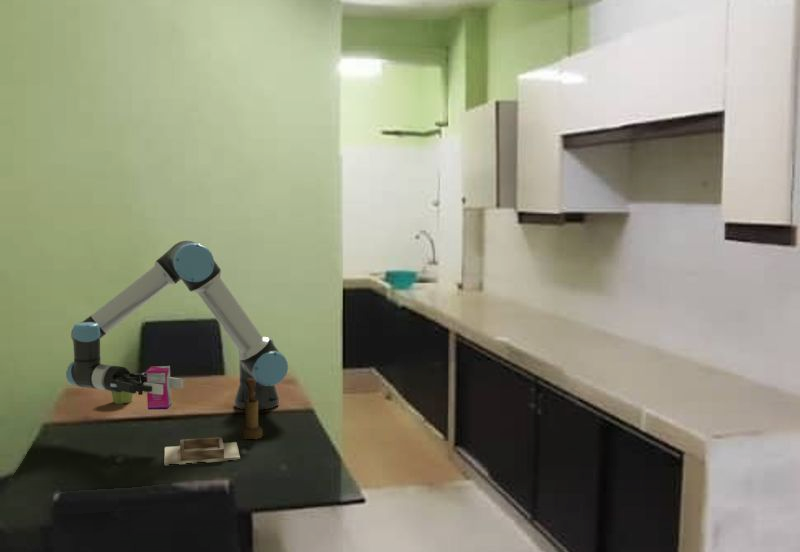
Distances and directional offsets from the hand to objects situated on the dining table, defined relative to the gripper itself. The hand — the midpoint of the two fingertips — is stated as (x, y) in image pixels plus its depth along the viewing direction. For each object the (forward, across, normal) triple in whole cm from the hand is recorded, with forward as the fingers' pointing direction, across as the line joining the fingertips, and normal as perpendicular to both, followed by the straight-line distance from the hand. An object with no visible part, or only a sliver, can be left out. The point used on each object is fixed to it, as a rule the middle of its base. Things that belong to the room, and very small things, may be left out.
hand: (172, 386), depth 234 cm
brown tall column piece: (+13, -19, -18) cm, 30 cm away
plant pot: (-51, -32, -18) cm, 63 cm away
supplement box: (-5, 0, -7) cm, 8 cm away
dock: (+11, +1, -18) cm, 21 cm away
